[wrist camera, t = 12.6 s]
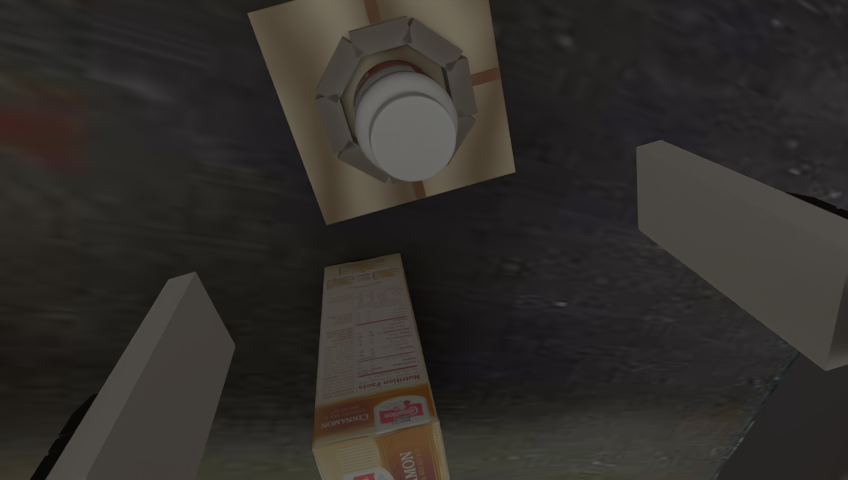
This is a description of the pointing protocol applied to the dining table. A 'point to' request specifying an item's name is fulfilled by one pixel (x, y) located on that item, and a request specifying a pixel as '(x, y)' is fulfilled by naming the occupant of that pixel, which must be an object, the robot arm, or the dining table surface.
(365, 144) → the pill bottle
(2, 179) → the dining table surface
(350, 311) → the coffeecake box
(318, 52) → the socket
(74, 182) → the dining table surface
